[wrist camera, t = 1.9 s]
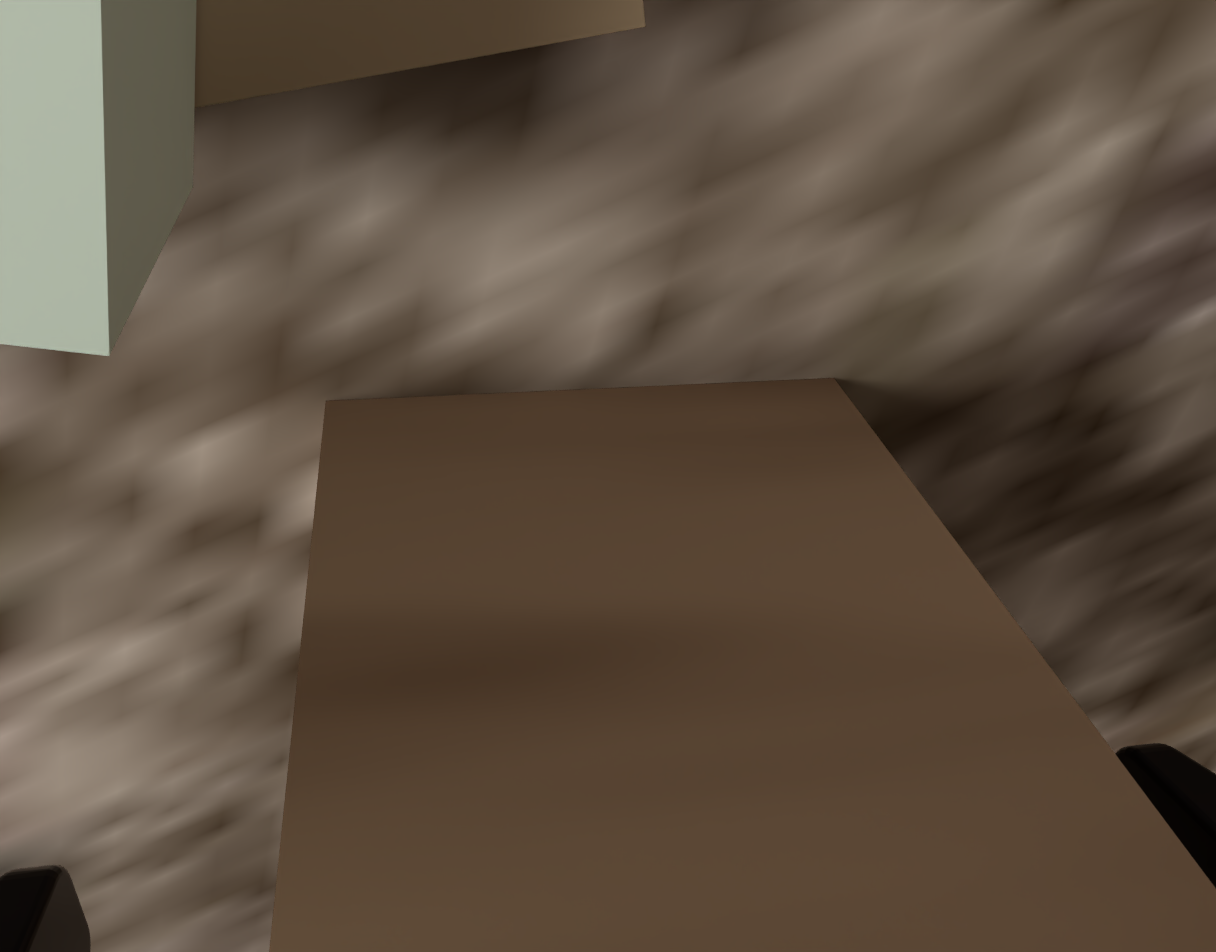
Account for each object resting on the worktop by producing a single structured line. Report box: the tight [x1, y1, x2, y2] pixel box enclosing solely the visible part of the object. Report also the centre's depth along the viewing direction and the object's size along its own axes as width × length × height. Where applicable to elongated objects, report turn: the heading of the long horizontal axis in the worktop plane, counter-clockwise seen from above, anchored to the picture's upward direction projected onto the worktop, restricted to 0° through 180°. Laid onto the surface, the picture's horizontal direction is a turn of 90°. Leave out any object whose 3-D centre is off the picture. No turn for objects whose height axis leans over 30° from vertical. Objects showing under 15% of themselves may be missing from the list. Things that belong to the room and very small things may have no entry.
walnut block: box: [269, 378, 1216, 952], centre depth 9 cm, size 5×5×7 cm
